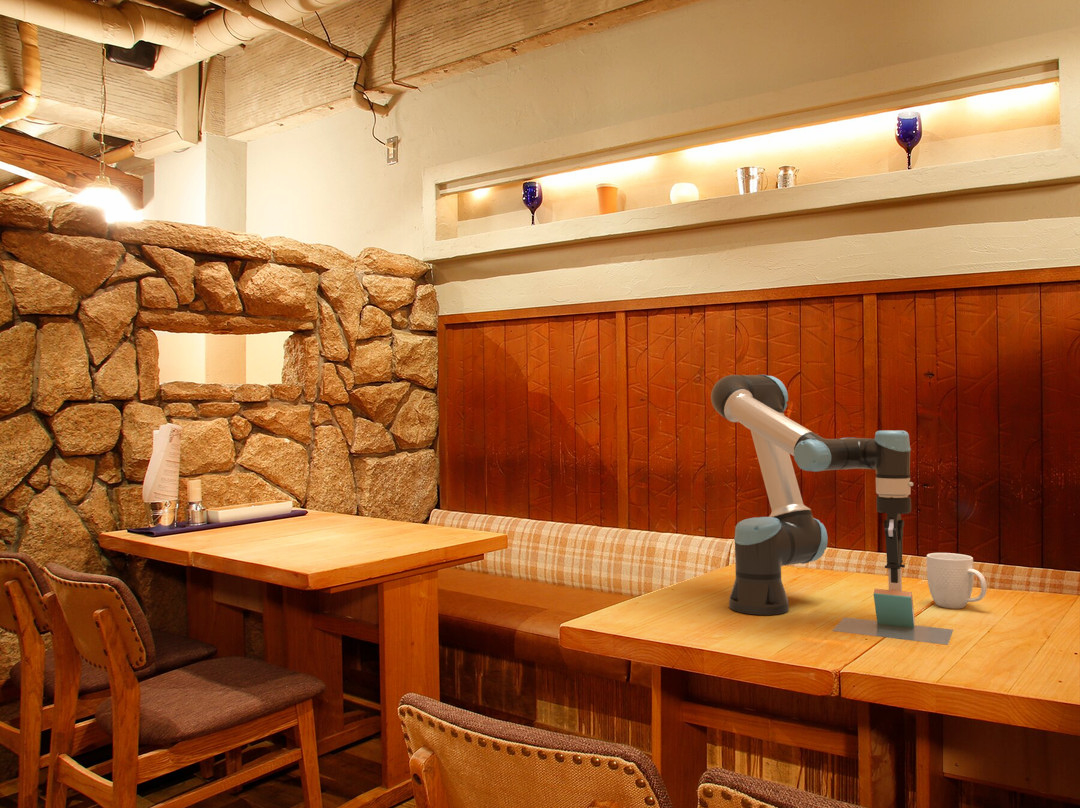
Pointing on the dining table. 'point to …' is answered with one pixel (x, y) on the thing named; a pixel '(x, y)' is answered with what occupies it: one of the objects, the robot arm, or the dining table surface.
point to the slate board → (894, 631)
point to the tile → (894, 607)
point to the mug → (952, 579)
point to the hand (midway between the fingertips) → (895, 595)
